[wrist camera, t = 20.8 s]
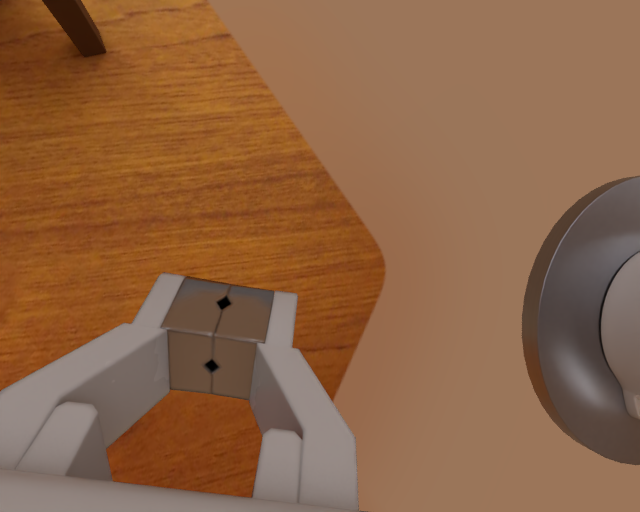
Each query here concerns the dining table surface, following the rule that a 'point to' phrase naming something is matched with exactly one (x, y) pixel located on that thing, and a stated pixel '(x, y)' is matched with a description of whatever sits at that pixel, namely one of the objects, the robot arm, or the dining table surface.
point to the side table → (77, 25)
